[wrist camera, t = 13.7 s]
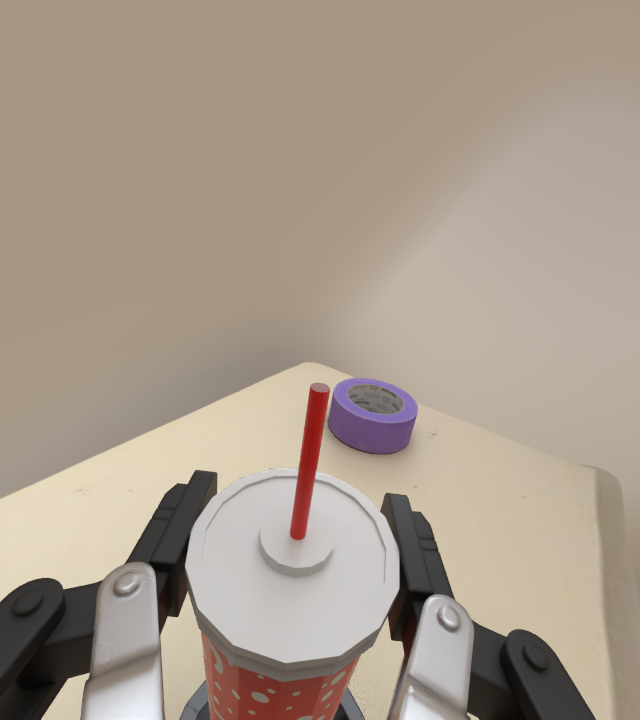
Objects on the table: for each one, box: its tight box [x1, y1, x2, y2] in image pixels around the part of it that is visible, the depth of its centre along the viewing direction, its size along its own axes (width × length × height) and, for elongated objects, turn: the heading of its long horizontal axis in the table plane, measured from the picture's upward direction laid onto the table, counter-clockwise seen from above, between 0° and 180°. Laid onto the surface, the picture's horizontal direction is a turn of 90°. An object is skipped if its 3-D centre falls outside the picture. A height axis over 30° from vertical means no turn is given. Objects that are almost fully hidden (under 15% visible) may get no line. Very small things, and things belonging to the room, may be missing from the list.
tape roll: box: [328, 378, 418, 454], centre depth 49 cm, size 12×12×5 cm
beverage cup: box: [185, 383, 399, 720], centre depth 11 cm, size 6×6×14 cm
